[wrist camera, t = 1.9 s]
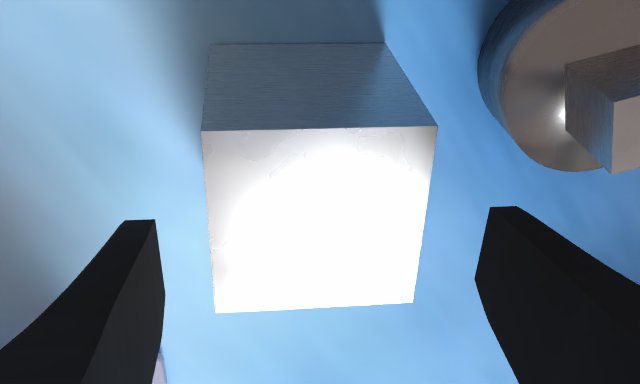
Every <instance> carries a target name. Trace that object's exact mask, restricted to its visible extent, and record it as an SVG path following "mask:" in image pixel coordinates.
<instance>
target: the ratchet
mask: <svg viewBox="0 0 640 384" xmlns="http://www.w3.org/2000/svg"><path fill="white" fill-rule="evenodd" d="M478 82H479V88H480V92H481V95H482V98H483V101H484V103H485V104H486V106H487V108H488V109H489V111H490V112H491V114H492V115H493V116H494V117H495V118H496V120H497V121H498V122H499V123H500V124H501V126H502V127H503V128H504V129H505V130H506V132H507V133H508V134H509V135H510V136H511V138H512V139H513V140H514V141H515V142H516V144H517V145H518V146H519V147H520V148H521V149H522V151H523V152H524V153H525V154H527V155H528V156H529V157H530V158H531V159H533V160H534V161H536V162H537V163H539V164H541V165H543V166H545V167H548V168H551V169H555V170H560V171H569V172H579V171H589V170H594V169H599V168H602V167H604V168H605V169H606V170H607V171H608V172H609V173H610V174H611V175H613V174H617V173H621V172H624V171H628V170H632V169H636V168H640V0H512V1H511V2H510V3H509V4H508V5H507V6H506V7H505V8H504V9H503V11H502V12H501V13H500V14H499V15H498V17H497V18H496V20H495V21H494V23H493V24H492V26H491V28H490V30H489V32H488V34H487V36H486V38H485V41H484V43H483V46H482V49H481V53H480V57H479V65H478Z"/></svg>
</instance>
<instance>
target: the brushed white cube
mask: <svg viewBox="0 0 640 384" xmlns="http://www.w3.org/2000/svg"><path fill="white" fill-rule="evenodd" d="M437 131H438V125H437V123H436V122H435V120H434V119H433V117H432V116H431V114H430V112H429V111H428V109H427V108H426V106H425V105H424V103H423V101H422V100H421V98H420V97H419V95H418V94H417V92H416V90H415V89H414V87H413V86H412V84H411V83H410V81H409V79H408V78H407V76H406V75H405V73H404V72H403V70H402V68H401V67H400V65H399V64H398V62H397V61H396V59H395V57H394V56H393V54H392V53H391V51H390V50H389V48H388V46H387V45H386V43H360V44H211V47H210V56H209V64H208V73H207V82H206V90H205V99H204V108H203V116H202V125H201V140H202V153H203V165H204V178H205V190H206V203H207V215H208V228H209V240H210V253H211V265H212V278H213V290H214V303H215V313H229V312H247V311H265V310H283V309H300V308H318V307H336V306H354V305H372V304H390V303H408V302H412V300H413V294H414V287H415V280H416V273H417V267H418V260H419V253H420V246H421V239H422V233H423V226H424V219H425V212H426V205H427V199H428V192H429V185H430V178H431V171H432V165H433V158H434V151H435V144H436V137H437Z"/></svg>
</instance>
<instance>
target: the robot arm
mask: <svg viewBox="0 0 640 384" xmlns="http://www.w3.org/2000/svg"><path fill="white" fill-rule="evenodd" d="M475 282H476V286H477V289H478V292H479V295H480V299H481V302H482V305H483V308H484V311H485V313H486V316H487V319H488V321H489V323H490V325H491V328H492V330H493V332H494V334H495V336H496V338H497V340H498V342H499V344H500V346H501V348H502V350H503V352H504V354H505V356H506V358H507V360H508V362H509V364H510V366H511V368H512V370H513V372H514V374H515V376H516V378H517V380H518V382H519V384H640V285H638V284H636V283H635V282H633V281H631V280H630V279H628V278H626V277H625V276H623V275H621V274H620V273H618V272H616V271H615V270H613V269H611V268H610V267H608V266H607V265H605V264H603V263H602V262H600V261H599V260H597V259H596V258H594V257H593V256H591V255H590V254H588V253H586V252H585V251H584V250H582V249H581V248H579V247H578V246H576V245H575V244H573V243H572V242H570V241H569V240H567V239H566V238H564V237H563V236H561V235H560V234H559V233H557V232H556V231H554V230H553V229H551V228H550V227H548V226H547V225H545V224H544V223H542V222H541V221H540V220H538V219H537V218H535V217H534V216H532V215H531V214H529V213H527V212H526V211H524V210H522V209H521V208H519V207H517V206H508V207H490V210H489V214H488V219H487V224H486V228H485V233H484V238H483V242H482V247H481V252H480V256H479V261H478V265H477V270H476V275H475ZM164 305H165V289H164V281H163V274H162V267H161V259H160V252H159V245H158V237H157V230H156V223H155V219H152V220H125V221H124V222H123V223H122V224H121V225H120V226H119V227H118V228H117V230H116V231H115V232H114V233H113V235H112V236H111V237H110V238H109V240H108V241H107V242H106V243H105V245H104V246H103V247H102V248H101V250H100V251H99V252H98V253H97V254H96V256H95V257H94V258H93V259H92V260H91V262H90V263H89V264H88V265H87V266H86V267H85V269H84V270H83V271H82V272H81V273H80V274H79V275H78V276H77V278H76V279H75V280H74V281H73V282H72V283H71V284H70V285H69V287H68V288H67V289H66V290H65V291H64V292H63V293H62V294H61V295H60V296H59V297H58V298H57V299H56V300H55V301H54V302H53V303H52V304H51V305H50V306H49V307H48V308H47V309H46V310H45V311H44V312H43V313H42V314H41V315H40V316H39V317H38V318H37V319H36V320H35V321H33V322H32V323H31V324H30V325H29V326H28V327H27V328H26V329H25V330H24V331H22V332H21V333H20V334H19V335H18V336H16V337H15V338H14V339H13V340H12V341H11V342H9V343H8V344H7V345H6V346H4V347H3V348H2V349H1V350H0V384H167V379H166V372H165V365H164V359H163V356H162V355H161V354H160V353H159V348H160V343H161V338H162V329H163V318H164Z"/></svg>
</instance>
